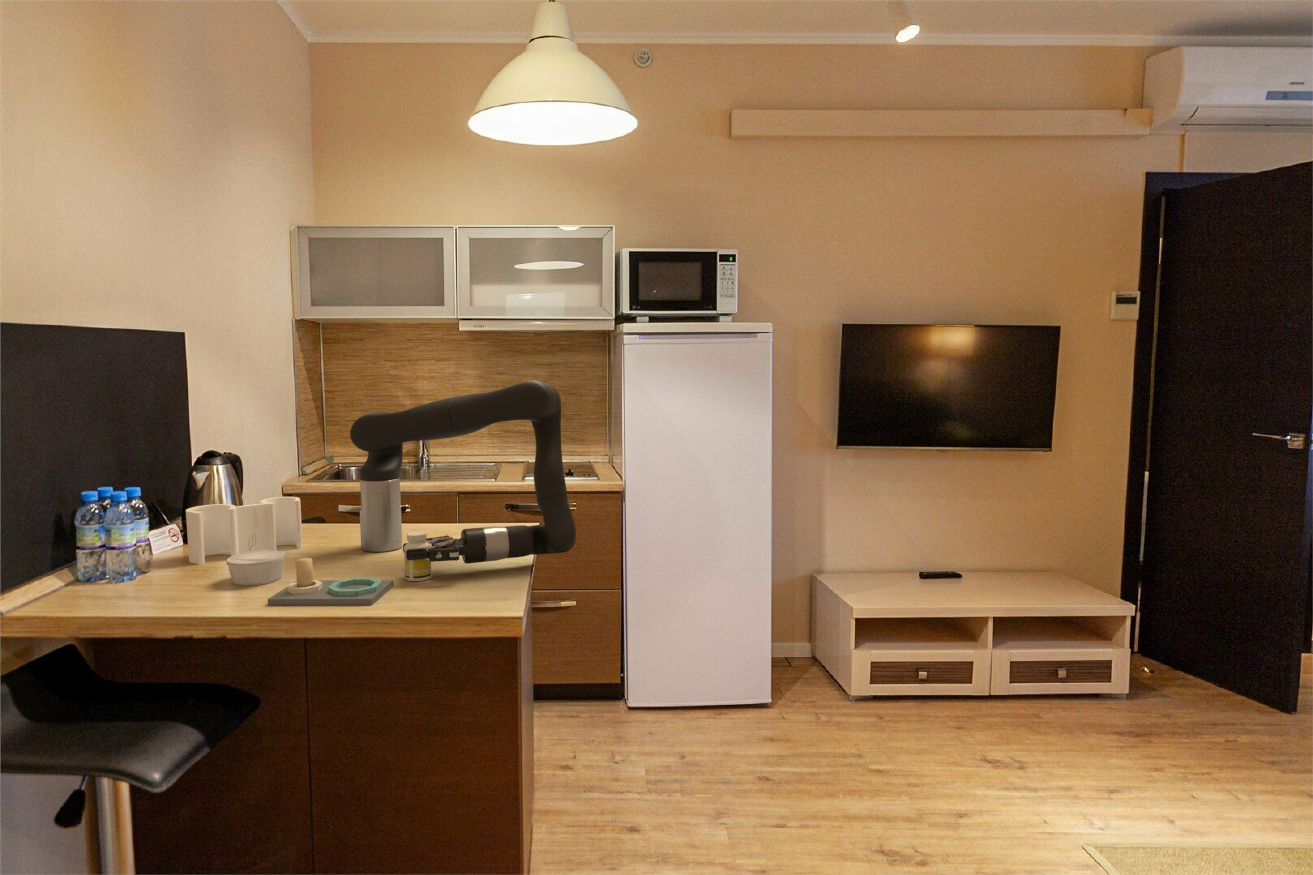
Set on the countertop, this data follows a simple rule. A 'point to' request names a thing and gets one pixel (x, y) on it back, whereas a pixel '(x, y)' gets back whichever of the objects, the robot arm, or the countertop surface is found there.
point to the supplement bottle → (417, 568)
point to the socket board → (329, 589)
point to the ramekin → (256, 567)
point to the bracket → (243, 527)
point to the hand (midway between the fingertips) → (405, 551)
